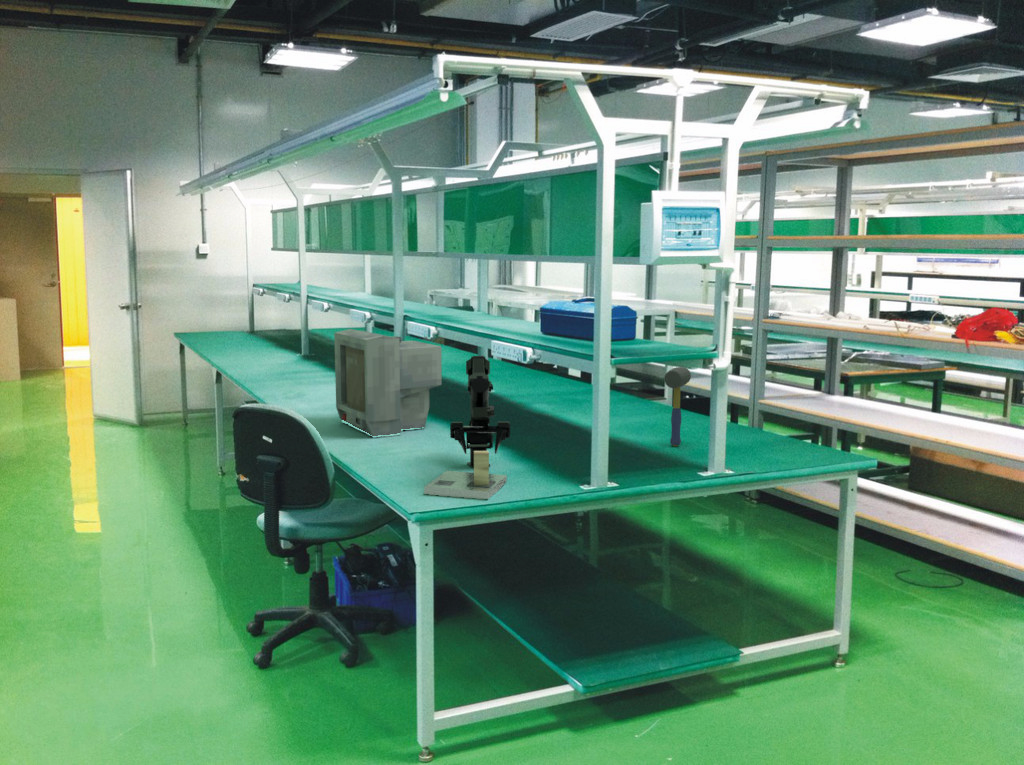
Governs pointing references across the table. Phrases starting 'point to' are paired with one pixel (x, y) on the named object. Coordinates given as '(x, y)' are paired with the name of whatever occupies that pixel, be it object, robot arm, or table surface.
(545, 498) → the table surface
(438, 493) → the pocket plate
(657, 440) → the table surface
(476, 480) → the maple post
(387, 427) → the crt television
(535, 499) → the table surface
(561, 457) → the table surface
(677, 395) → the rubber mallet
